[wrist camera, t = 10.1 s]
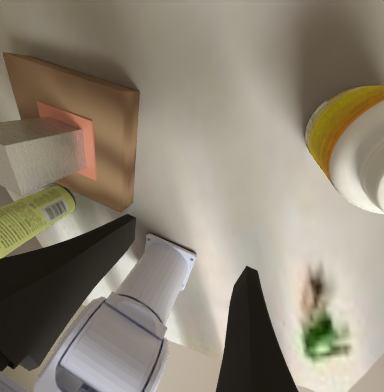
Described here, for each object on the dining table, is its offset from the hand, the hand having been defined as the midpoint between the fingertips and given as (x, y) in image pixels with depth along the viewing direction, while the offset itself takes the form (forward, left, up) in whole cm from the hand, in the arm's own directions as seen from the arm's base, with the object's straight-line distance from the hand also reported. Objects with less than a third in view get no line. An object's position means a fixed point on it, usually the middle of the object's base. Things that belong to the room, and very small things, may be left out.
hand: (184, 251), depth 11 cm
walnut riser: (-1, +17, -10) cm, 20 cm away
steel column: (-1, +17, -8) cm, 19 cm away
